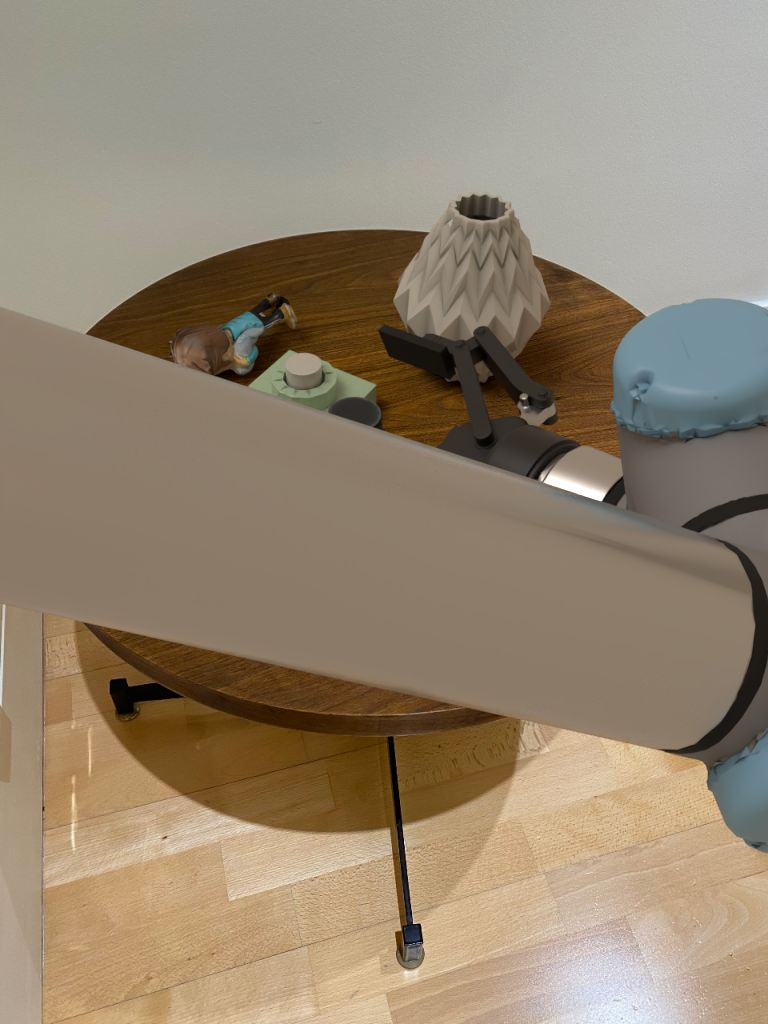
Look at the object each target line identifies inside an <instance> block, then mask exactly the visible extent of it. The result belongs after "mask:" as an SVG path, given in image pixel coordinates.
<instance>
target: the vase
mask: <svg viewBox="0 0 768 1024" xmlns="http://www.w3.org/2000/svg"><path fill="white" fill-rule="evenodd" d="M515 215H516V213H515V210H514V209H513V208H512V203H511V201H506V200H503V198H502V196H501V195H494V196H492V195H491V194H490V193H489V192H488V191H486V192H482V193H480V194H479V193H478V192H474V191H470V192H469V193H468V194H467V195H465V194H457V197H456V199H452V200H450V201H449V202H448V206H447V208H446V209H445V210H444V212H443V214H442V215H441V216H440V217H439V219H438V221H437V222H436V223H435V224H433V225H432V227H431V229H430V231H429V233H428V234H427V235H426V236H425V237H424V239H423V242H422V243H421V246H420V248H419V250H418V252H416V254H415V255H414V257H413V258H412V259H411V261H410V262H409V263H408V265H407V266H406V268H405V269H404V271H402V273H401V275H400V276H399V277H398V279H397V285H398V288H397V289H396V292H395V294H394V297H393V305H394V306H395V309H396V311H397V313H398V315H399V317H400V319H401V320H402V322H403V325H404V327H405V330H406V332H408V333H411V334H414V335H417V336H419V337H423V336H424V335H425V334H436V335H438V336H441V337H444V338H447V339H450V340H453V341H457V340H465V341H466V340H468V339H470V338H471V337H473V336H474V335H473V332H474V330H475V329H476V328H478V327H480V326H487V327H488V328H489V329H490V330H491V331H492V333H493V334H494V335H495V336H496V337H497V339H498V340H499V341H500V342H501V343H502V345H503V346H504V347H505V348H506V350H507V351H508V352H509V353H510V354H511V356H512V357H513V358H514V359H515V360H516V358H517V357H518V356H519V355H520V354H521V353H522V352H523V350H524V349H525V347H526V346H527V344H528V342H529V341H530V340H531V338H532V336H533V335H534V334H535V333H536V332H537V331H538V330H539V329H541V328H542V327H541V326H542V320H543V319H544V317H545V315H546V314H547V312H548V311H549V309H550V307H551V301H550V298H549V294H548V291H547V289H546V286H545V283H544V279H543V276H542V273H541V271H540V270H539V268H538V267H536V265H535V261H534V256H533V251H532V250H533V249H532V246H531V241H530V238H529V237H528V236H527V235H526V234H525V232H524V230H522V228H521V222H520V219H519V218H517V217H516V216H515ZM474 366H475V369H476V372H477V376H478V379H479V383H486V382H487V380H488V379H489V378H490V377H494V375H493V374H492V373H491V372H490V370H489V369H488V368H487V366H486V365H485V364H484V362H483V361H481V362H479V363H477V364H476V365H474ZM454 368H455V367H454ZM455 371H456V374H455V375H454V376H453V377H452V378H451V379H450V380H449V379H446V378H444V379H445V381H446V382H448V383H449V382H456V381H457V382H460V379H459V375H458V372H457V368H455Z"/></svg>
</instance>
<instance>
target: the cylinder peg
mask: <svg viewBox="0 0 768 1024" xmlns="http://www.w3.org/2000/svg"><path fill="white" fill-rule="evenodd" d="M297 353H298V352H297ZM320 359H321V358H320V357H318V356H317V355H316V354H313V353H311V352H310V353H309V352H299V353H298V354H295V355H292V356H291V357H289V358H288V359H287V360H286V363H285V369H286V381H287V384H288V386H289V387H291V388H293V389H296V390H310V389H313V388H316V387H319V386H320V385H321V383H322V362H321V360H322V359H321V360H320Z"/></svg>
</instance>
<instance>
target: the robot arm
mask: <svg viewBox="0 0 768 1024" xmlns="http://www.w3.org/2000/svg"><path fill="white" fill-rule="evenodd" d="M377 331H378V333H379V336H380V339H381V341H382V344H383V346H384V349H385V351H386V353H387V356H388V357H389V358H391V359H392V358H393V359H394V360H397V361H399V362H402V363H405V364H408V365H410V366H413V367H415V368H418V369H420V370H423V371H426V372H429V373H431V374H433V375H436V376H439V377H441V378H444V379H445V378H446V379H449V380H450V379H451V378H452V377H453V376H454V375H455V374H456V371H455V368H457V372H458V375H459V379H460V381H459V382H460V387H461V390H462V394H463V399H464V403H465V407H466V412H467V414H468V419H469V422H468V421H467V422H465V423H463V424H461V425H457V424H456V425H454V426H453V427H452V428H451V429H450V430H449V431H448V433H447V435H446V436H445V438H444V439H443V441H442V442H441V443H439V444H438V445H436V446H432V445H429V444H425V443H423V442H419V441H416V440H413V439H411V438H407V437H404V436H402V435H399V434H395V433H392V432H389V431H387V430H386V431H383V430H380V429H377V428H374V427H370V426H367V425H364V424H361V423H358V422H355V421H352V420H349V419H346V418H343V417H340V416H336V415H333V414H330V413H327V412H324V411H321V410H318V409H315V408H312V407H309V406H306V405H302V404H299V403H296V402H293V401H290V400H287V399H284V398H281V397H278V396H275V395H272V394H269V393H265V392H262V391H259V390H256V389H253V388H250V387H248V385H244V384H240V383H237V382H234V381H231V380H229V379H225V378H223V377H219V376H216V375H214V376H213V375H210V374H207V373H204V372H201V371H198V370H194V369H191V368H188V367H185V366H182V365H179V364H176V363H175V362H174V361H170V360H166V359H164V358H160V357H157V356H154V355H151V354H147V353H145V352H141V351H139V350H135V349H132V348H130V347H126V346H123V345H121V344H117V343H114V342H110V341H107V340H106V339H102V338H99V337H95V336H93V335H89V334H86V333H83V332H80V331H77V330H74V329H70V328H68V327H64V326H61V325H59V324H55V323H52V322H49V321H46V320H43V319H40V318H37V317H34V316H31V315H28V314H25V313H22V312H18V311H15V310H13V309H9V308H6V307H3V306H0V605H4V606H8V607H13V608H18V609H23V610H27V611H32V612H35V613H40V614H44V615H49V616H54V617H59V618H63V619H68V620H71V621H76V622H81V623H84V624H85V623H86V624H90V625H93V626H94V625H95V626H99V627H102V628H108V629H111V630H116V631H120V632H125V633H130V634H135V635H139V636H143V637H148V638H151V639H157V640H161V641H165V642H171V643H175V644H178V645H184V646H188V647H193V648H197V649H202V650H207V651H212V652H215V653H220V654H223V655H229V656H234V657H237V658H242V659H246V660H251V661H255V662H260V663H265V664H269V665H273V666H278V667H283V668H287V669H291V670H292V669H293V670H295V671H299V672H305V673H310V674H314V675H319V676H323V677H327V678H331V679H335V680H340V681H345V682H350V683H354V684H359V685H363V686H369V687H373V688H377V689H381V690H386V691H390V692H394V693H399V694H403V695H408V696H413V697H417V698H422V699H427V700H430V701H436V702H439V703H445V704H449V705H452V706H456V707H457V706H458V707H462V708H466V709H471V710H476V711H480V712H484V713H488V714H489V713H490V714H493V715H497V716H498V715H499V716H503V717H507V718H511V719H515V720H516V719H517V720H521V721H525V722H528V723H529V722H530V723H535V724H539V725H543V726H547V727H552V728H557V729H560V730H561V729H562V730H566V731H569V732H570V731H571V732H574V733H579V734H582V735H583V734H584V735H588V736H592V737H597V738H602V739H605V740H610V741H614V742H620V743H625V744H628V745H633V746H637V747H641V748H642V747H643V748H647V749H651V750H654V751H655V750H656V751H660V752H664V753H667V754H670V755H674V756H678V757H682V758H685V759H691V760H695V761H699V762H702V763H703V765H705V767H706V771H707V779H706V781H705V782H706V787H707V790H708V791H710V792H711V793H712V795H713V798H714V800H715V802H716V805H717V807H718V810H719V813H720V815H721V817H722V819H723V822H724V824H725V825H726V828H728V829H729V830H730V831H731V832H732V834H733V835H734V836H736V837H737V838H740V839H742V840H743V842H744V843H745V844H746V845H747V846H748V847H750V848H752V849H754V850H757V851H759V852H761V853H763V854H768V309H767V308H766V307H763V306H761V305H759V304H755V303H752V302H749V301H745V300H741V299H734V298H723V297H722V298H721V297H708V298H707V297H706V298H697V299H695V300H693V301H692V302H691V301H690V302H682V303H681V304H671V305H669V306H666V307H663V308H661V309H658V310H657V311H655V312H653V313H651V314H649V315H647V316H646V317H644V318H643V319H642V320H640V321H639V322H637V323H636V324H635V325H633V327H631V328H630V329H629V330H628V331H627V333H625V334H624V336H623V337H622V339H621V341H620V343H619V344H618V346H617V348H616V351H615V352H614V353H615V354H614V357H613V361H612V382H613V384H612V385H613V399H612V400H611V401H610V411H611V414H612V415H614V420H615V425H616V432H617V439H618V446H619V454H620V457H618V456H615V455H612V454H610V453H608V452H605V451H603V450H600V449H598V448H596V447H593V446H591V445H581V444H580V443H579V442H578V441H576V440H573V439H571V438H569V437H567V436H564V435H561V434H558V433H556V432H553V431H551V430H549V429H546V428H543V427H541V426H542V425H543V426H548V427H550V426H553V425H555V424H556V423H557V422H558V421H559V415H558V410H557V406H556V401H555V398H554V397H555V396H554V392H553V390H552V389H551V388H550V387H548V386H546V385H544V384H541V383H540V382H537V381H536V380H534V379H532V378H531V377H530V376H529V375H528V373H526V371H525V370H524V369H523V368H522V367H521V365H520V364H519V362H518V361H517V360H516V358H515V359H514V358H513V357H512V356H511V354H510V353H509V352H508V351H507V350H506V348H505V347H504V346H503V345H502V343H501V342H500V341H499V340H498V339H497V337H496V336H495V335H494V334H493V333H492V331H491V330H490V329H489V328H488V327H487V326H480V327H478V328H476V329H475V330H474V332H473V335H474V336H473V337H471V338H470V339H468V340H466V341H465V340H457V341H453V340H450V339H447V338H444V337H441V336H438V335H436V334H425V335H424V336H423V337H419V336H417V335H414V334H411V333H408V332H407V331H405V330H402V329H400V328H397V327H394V326H391V325H388V324H386V323H384V324H383V325H382V326H381V327H380V328H379V329H377ZM481 361H483V362H484V364H485V365H486V366H487V368H488V369H489V370H490V372H491V373H492V374H493V375H494V376H493V377H494V378H495V380H496V382H498V384H499V385H500V386H501V388H502V389H503V390H504V391H505V392H506V393H507V396H509V397H510V399H511V400H512V402H514V404H515V405H516V407H517V410H518V414H519V415H518V416H517V415H511V416H510V415H509V416H503V417H496V418H491V417H490V414H489V410H488V407H487V404H486V400H485V397H484V393H483V390H482V386H481V382H479V379H478V376H477V372H476V369H475V366H474V365H476V364H477V363H479V362H481ZM454 367H455V368H454ZM446 379H445V380H446Z"/></svg>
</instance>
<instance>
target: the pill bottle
mask: <svg viewBox="0 0 768 1024" xmlns="http://www.w3.org/2000/svg"><path fill="white" fill-rule="evenodd" d="M328 413H330V414H333V415H336V416H340V417H343V418H346V419H349V420H352V421H355V422H358V423H361V424H364V425H367V426H370V427H374V428H377V429H380V430H383V431H386V432H387V430H386V429H385V427H383V412H382V410H381V408H380V406H379V405H378V403H377V402H376V403H375V402H373V401H371V400H369V399H367V398H362V397H347V398H343V399H340V400H338V401H336V402H335V403H333V404H332V405H331V406H330V408H329V410H328Z"/></svg>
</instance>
